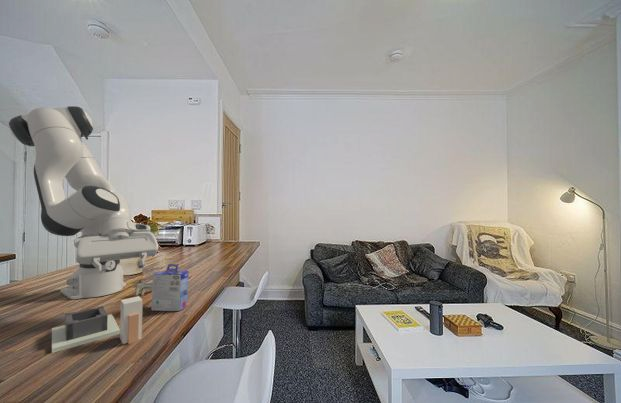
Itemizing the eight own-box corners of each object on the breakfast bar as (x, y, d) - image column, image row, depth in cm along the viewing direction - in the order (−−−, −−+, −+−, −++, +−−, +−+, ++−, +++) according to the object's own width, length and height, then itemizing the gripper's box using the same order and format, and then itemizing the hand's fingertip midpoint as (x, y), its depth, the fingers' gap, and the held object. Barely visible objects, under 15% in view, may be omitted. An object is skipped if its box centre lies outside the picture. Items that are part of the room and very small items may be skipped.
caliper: (136, 297, 96) (136, 281, 96) (134, 297, 97) (135, 280, 97) (188, 284, 113) (188, 270, 113) (186, 283, 114) (186, 269, 114)
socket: (51, 331, 70) (52, 313, 70) (111, 317, 79) (112, 301, 79) (51, 353, 60) (52, 331, 60) (120, 333, 69) (120, 315, 69)
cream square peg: (120, 338, 67) (120, 299, 67) (138, 333, 70) (138, 296, 70) (123, 345, 63) (124, 305, 63) (142, 339, 66) (143, 301, 66)
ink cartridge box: (188, 305, 89) (189, 263, 89) (180, 311, 83) (181, 267, 84) (160, 304, 89) (161, 263, 89) (150, 311, 84) (151, 267, 84)
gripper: (74, 229, 73) (75, 269, 66) (155, 225, 88) (163, 258, 81) (73, 242, 77) (74, 282, 70) (151, 237, 91) (158, 269, 84)
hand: (122, 269), depth 75 cm, fingers open, 8 cm apart
